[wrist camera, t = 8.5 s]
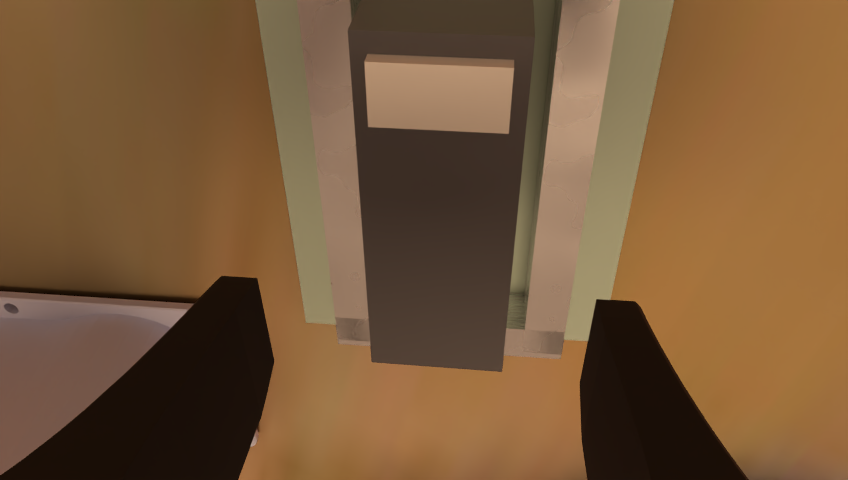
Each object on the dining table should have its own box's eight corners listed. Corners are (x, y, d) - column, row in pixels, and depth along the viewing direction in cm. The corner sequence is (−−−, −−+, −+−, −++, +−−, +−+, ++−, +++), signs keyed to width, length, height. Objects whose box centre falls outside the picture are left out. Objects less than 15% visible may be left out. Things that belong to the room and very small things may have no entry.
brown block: (403, 207, 21) (369, 372, 16) (395, -78, 16) (344, 37, 11) (504, 213, 21) (501, 382, 16) (529, -75, 16) (535, 44, 11)
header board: (311, 306, 25) (295, 357, 24) (212, -357, 14) (166, -357, 12) (598, 324, 25) (605, 379, 23) (740, -363, 13) (777, -365, 11)
